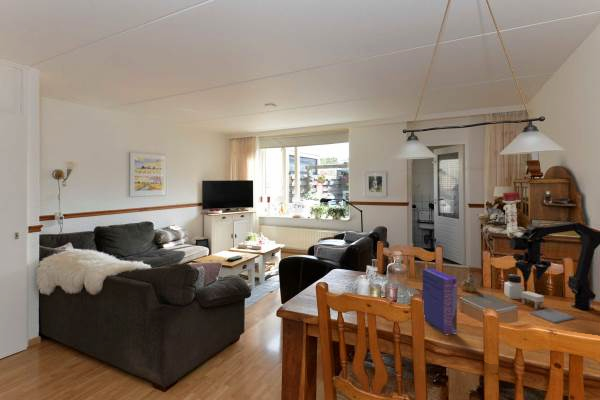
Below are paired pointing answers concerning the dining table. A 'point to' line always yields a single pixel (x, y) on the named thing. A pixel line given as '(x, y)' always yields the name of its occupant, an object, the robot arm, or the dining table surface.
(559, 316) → the tile
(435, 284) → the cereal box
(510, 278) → the medicine bottle
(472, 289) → the ornament
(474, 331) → the dining table surface
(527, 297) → the stool
